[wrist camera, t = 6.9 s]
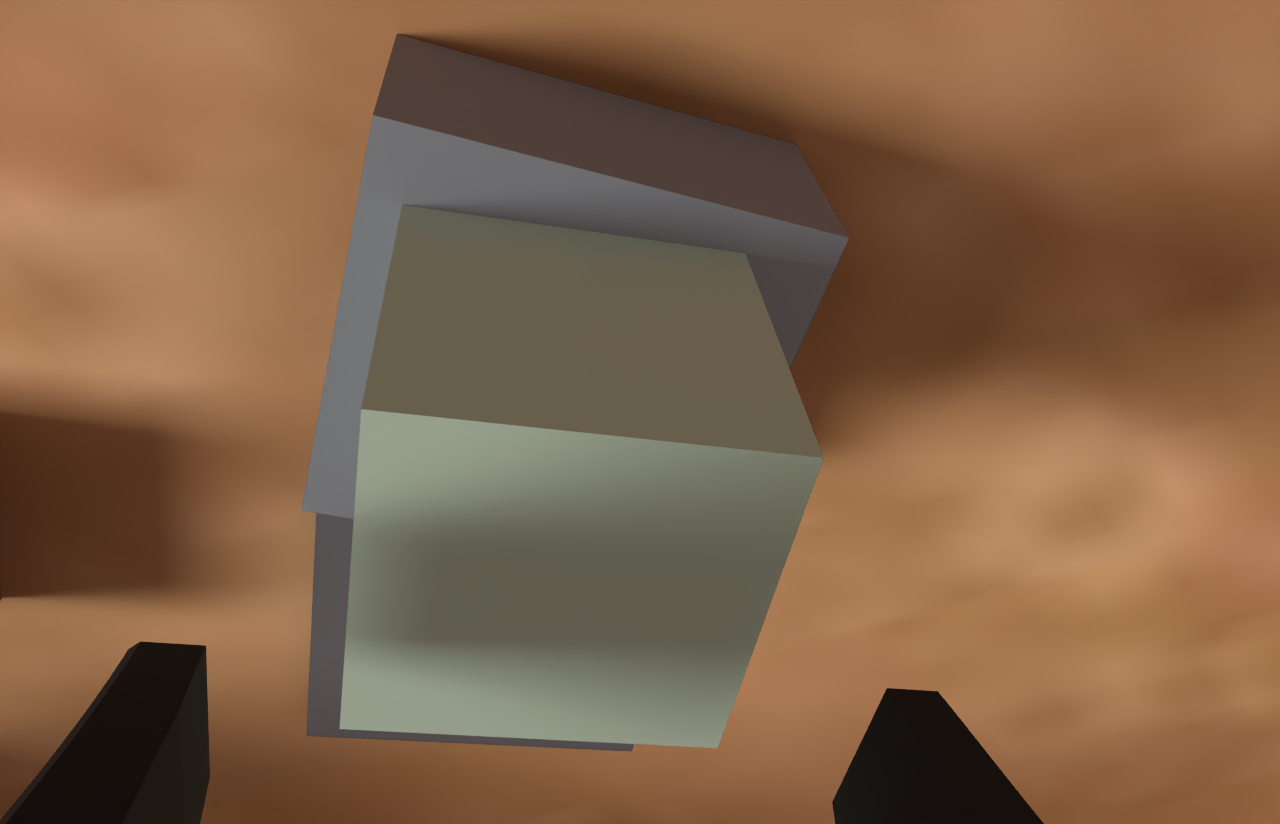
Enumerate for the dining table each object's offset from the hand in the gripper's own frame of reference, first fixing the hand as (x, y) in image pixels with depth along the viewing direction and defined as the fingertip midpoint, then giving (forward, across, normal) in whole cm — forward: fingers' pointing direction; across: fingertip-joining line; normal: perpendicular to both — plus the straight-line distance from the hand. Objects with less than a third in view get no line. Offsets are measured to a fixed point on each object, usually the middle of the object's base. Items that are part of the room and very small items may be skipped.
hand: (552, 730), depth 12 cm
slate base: (+11, 0, 0) cm, 11 cm away
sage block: (+7, 0, 0) cm, 7 cm away
